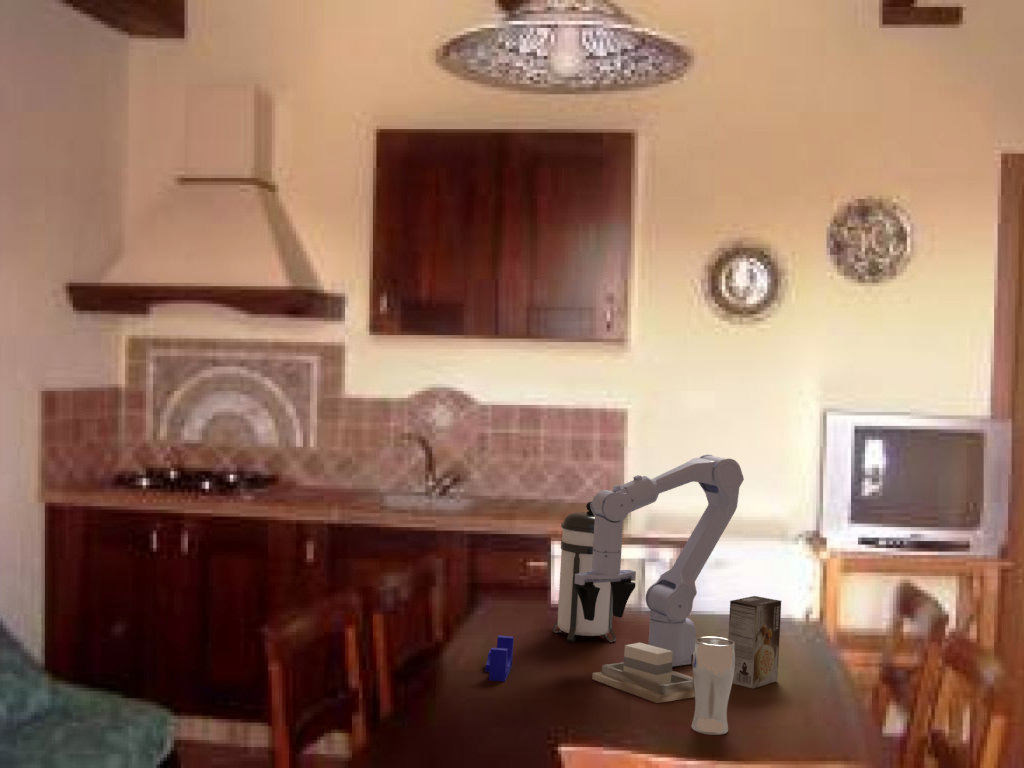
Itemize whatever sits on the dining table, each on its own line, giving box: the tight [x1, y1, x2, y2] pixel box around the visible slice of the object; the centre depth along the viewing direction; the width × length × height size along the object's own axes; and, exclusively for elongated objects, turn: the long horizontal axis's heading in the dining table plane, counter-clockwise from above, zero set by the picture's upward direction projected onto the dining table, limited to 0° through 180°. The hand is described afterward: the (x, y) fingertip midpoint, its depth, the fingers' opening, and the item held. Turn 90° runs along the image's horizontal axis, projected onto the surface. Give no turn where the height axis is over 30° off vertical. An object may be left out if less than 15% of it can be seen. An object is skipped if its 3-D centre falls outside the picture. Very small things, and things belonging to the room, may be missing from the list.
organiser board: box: [591, 654, 695, 704], centre depth 235 cm, size 16×18×7 cm
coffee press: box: [552, 501, 617, 644], centre depth 275 cm, size 17×16×30 cm
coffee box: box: [727, 595, 783, 690], centre depth 242 cm, size 9×6×16 cm
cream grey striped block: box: [623, 642, 673, 685], centre depth 234 cm, size 4×8×6 cm, turn 44°
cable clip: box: [484, 635, 515, 682], centre depth 239 cm, size 12×4×6 cm, turn 173°
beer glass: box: [691, 636, 735, 736], centre depth 209 cm, size 7×7×15 cm
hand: (603, 618), depth 249 cm, fingers open, 7 cm apart
